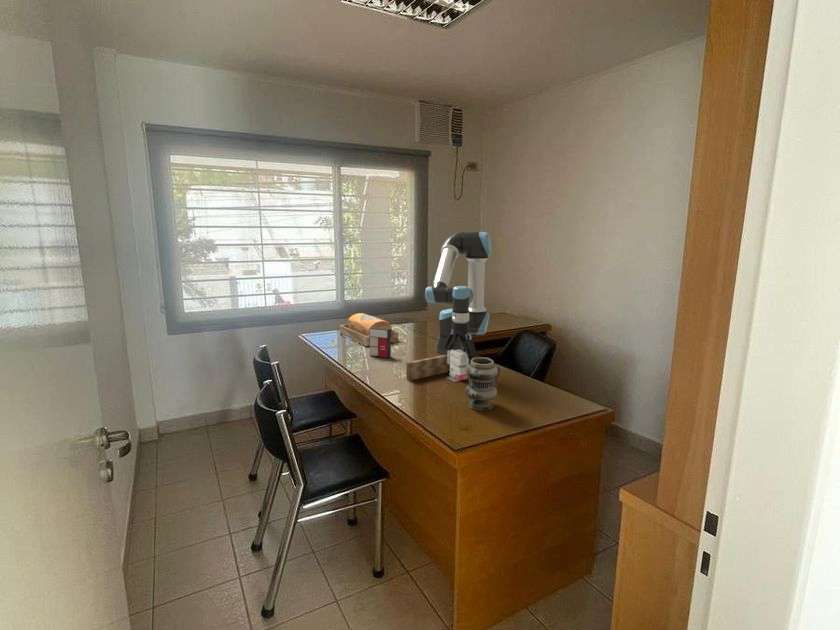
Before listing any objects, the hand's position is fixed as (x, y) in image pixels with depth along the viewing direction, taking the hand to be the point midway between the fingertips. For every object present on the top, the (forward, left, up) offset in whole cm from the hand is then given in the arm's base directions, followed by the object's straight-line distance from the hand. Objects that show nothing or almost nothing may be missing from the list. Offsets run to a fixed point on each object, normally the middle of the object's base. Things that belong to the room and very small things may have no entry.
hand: (459, 367), depth 196 cm
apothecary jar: (+13, +29, -5) cm, 32 cm away
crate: (0, -87, -5) cm, 88 cm away
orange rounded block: (0, -86, -5) cm, 86 cm away
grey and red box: (+13, -49, -5) cm, 51 cm away
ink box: (0, 0, -5) cm, 5 cm away
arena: (+6, +3, -5) cm, 8 cm away
